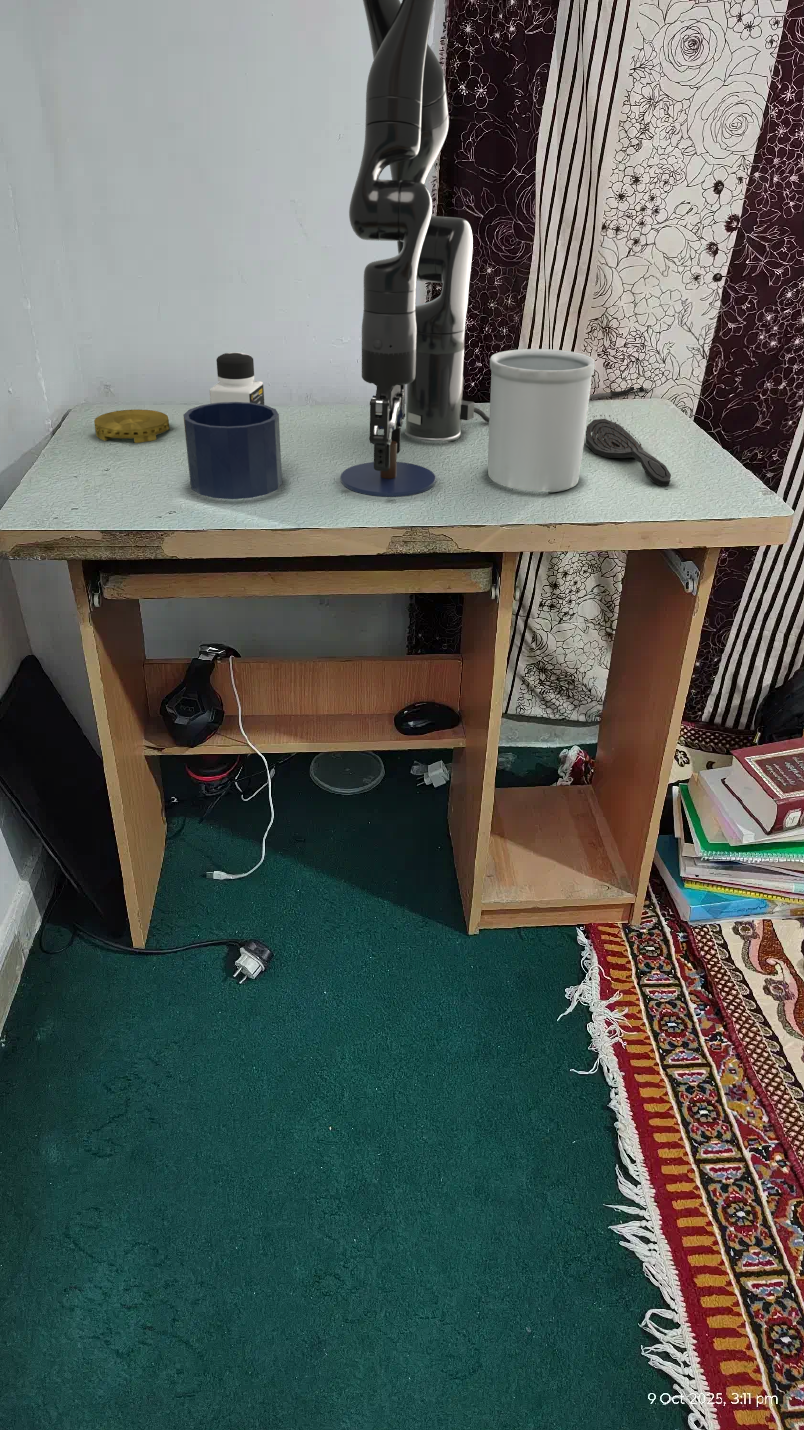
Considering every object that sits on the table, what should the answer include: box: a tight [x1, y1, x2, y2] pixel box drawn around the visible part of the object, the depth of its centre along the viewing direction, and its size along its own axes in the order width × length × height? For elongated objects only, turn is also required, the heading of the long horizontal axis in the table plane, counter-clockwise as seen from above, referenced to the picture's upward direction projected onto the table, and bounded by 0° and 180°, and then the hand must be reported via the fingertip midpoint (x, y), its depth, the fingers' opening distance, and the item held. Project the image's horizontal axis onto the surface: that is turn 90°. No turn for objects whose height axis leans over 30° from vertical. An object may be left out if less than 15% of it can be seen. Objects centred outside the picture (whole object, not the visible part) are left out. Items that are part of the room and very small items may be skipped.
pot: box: [182, 402, 283, 500], centre depth 141 cm, size 13×13×10 cm
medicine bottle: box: [209, 351, 265, 405], centre depth 165 cm, size 7×7×12 cm
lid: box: [340, 441, 437, 498], centre depth 144 cm, size 14×14×6 cm
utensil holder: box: [487, 348, 596, 494], centre depth 144 cm, size 15×15×18 cm
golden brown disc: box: [93, 409, 170, 444], centre depth 165 cm, size 12×12×2 cm
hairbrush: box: [585, 414, 672, 488], centre depth 156 cm, size 8×4×25 cm
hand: (387, 461), depth 144 cm, fingers open, 8 cm apart
